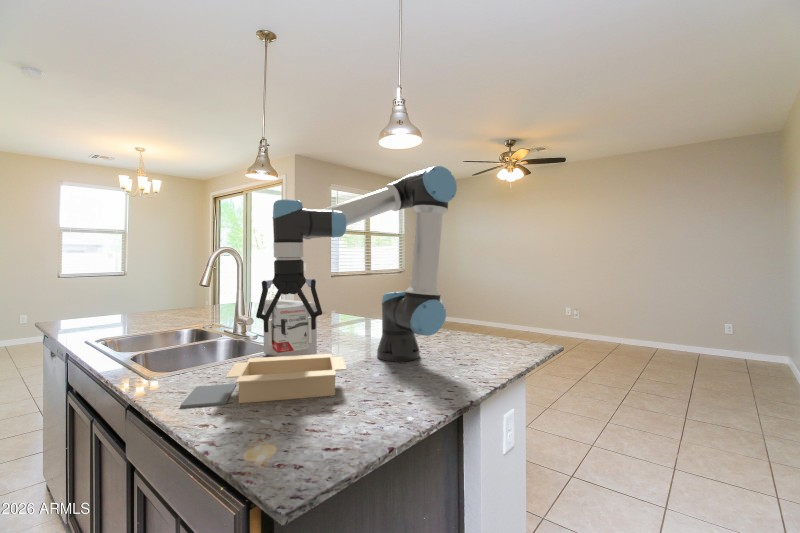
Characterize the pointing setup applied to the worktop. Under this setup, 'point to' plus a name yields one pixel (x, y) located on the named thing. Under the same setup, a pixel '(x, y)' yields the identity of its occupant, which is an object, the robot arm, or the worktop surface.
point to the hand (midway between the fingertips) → (290, 342)
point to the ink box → (290, 327)
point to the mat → (209, 395)
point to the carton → (286, 377)
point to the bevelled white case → (310, 351)
